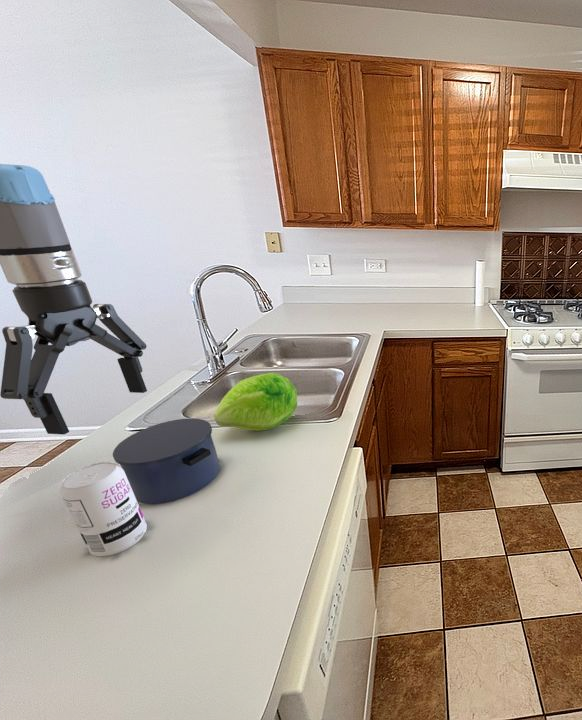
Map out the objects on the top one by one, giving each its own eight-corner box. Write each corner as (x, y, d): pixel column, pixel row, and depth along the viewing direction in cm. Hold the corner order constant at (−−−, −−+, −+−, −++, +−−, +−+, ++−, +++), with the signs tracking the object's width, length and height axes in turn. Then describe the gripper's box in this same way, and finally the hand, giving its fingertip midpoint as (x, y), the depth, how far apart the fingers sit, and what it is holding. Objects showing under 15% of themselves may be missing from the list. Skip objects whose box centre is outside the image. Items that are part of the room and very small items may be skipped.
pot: (107, 493, 85) (88, 451, 81) (185, 449, 100) (173, 412, 96) (171, 517, 78) (153, 473, 74) (245, 466, 93) (234, 427, 89)
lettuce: (226, 431, 111) (205, 382, 106) (300, 406, 121) (284, 360, 116) (226, 455, 98) (202, 401, 93) (310, 424, 107) (292, 373, 102)
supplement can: (101, 531, 75) (70, 466, 69) (154, 518, 78) (128, 455, 72) (81, 565, 68) (45, 496, 63) (140, 549, 71) (110, 482, 66)
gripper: (-40, 304, 46) (39, 456, 54) (146, 268, 69) (182, 379, 77) (-97, 303, 46) (-11, 454, 54) (106, 268, 69) (146, 377, 77)
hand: (102, 410), depth 65 cm, fingers open, 13 cm apart
